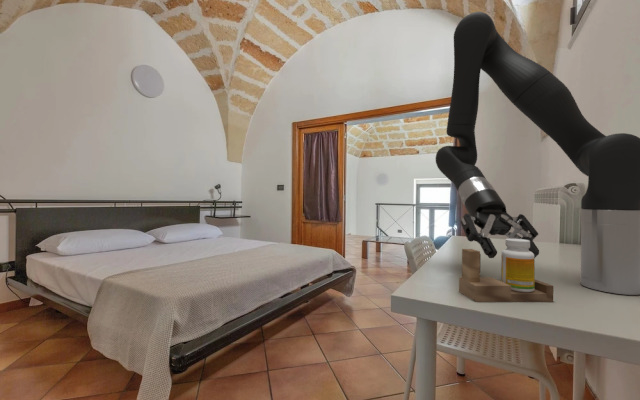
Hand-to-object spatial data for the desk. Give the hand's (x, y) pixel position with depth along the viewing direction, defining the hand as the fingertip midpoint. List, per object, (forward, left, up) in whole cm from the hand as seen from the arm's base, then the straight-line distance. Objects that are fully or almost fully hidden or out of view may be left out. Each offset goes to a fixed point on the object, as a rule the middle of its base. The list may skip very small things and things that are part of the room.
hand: (514, 256), depth 56 cm
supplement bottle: (0, +1, -7) cm, 7 cm away
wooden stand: (+3, +1, -8) cm, 8 cm away
